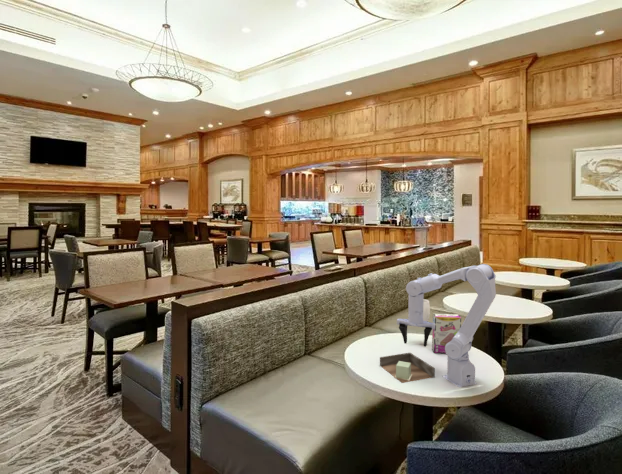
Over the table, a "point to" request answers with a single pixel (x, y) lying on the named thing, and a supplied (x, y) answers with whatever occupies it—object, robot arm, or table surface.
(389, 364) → the tray
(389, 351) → the table surface
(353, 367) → the table surface
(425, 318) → the cup
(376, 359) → the table surface
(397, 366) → the sage cube
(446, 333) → the candy bar box
